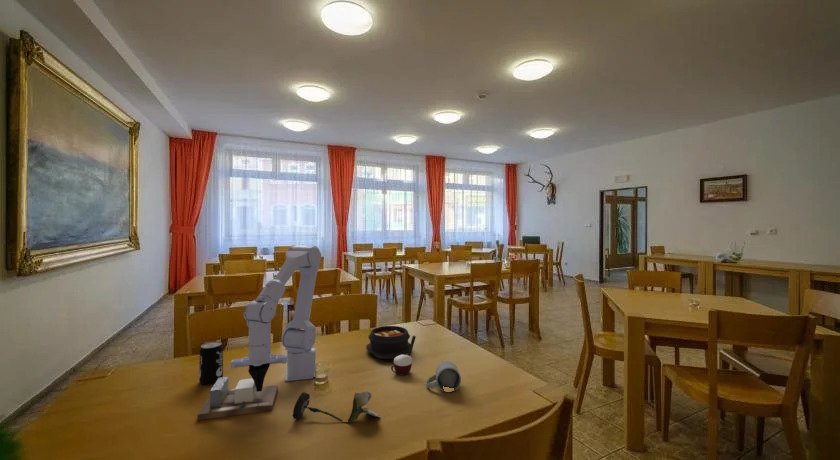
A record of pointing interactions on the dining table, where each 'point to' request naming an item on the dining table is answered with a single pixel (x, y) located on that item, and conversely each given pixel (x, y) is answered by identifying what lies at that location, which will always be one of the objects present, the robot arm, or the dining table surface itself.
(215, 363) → the beverage can
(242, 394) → the gauge carriage
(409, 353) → the cocoa
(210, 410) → the base
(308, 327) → the robot arm
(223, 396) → the grey block
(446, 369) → the ceramic mug
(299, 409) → the artificial flower
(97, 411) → the dining table surface
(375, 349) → the casserole
